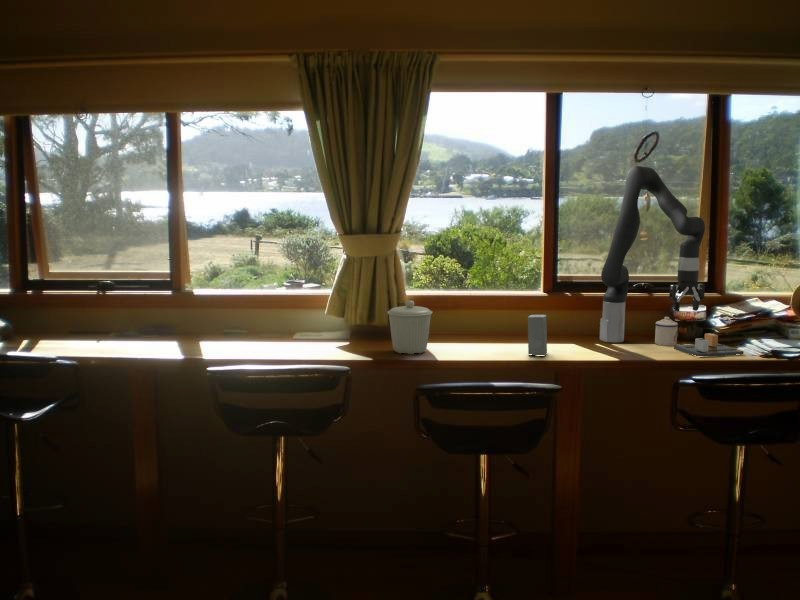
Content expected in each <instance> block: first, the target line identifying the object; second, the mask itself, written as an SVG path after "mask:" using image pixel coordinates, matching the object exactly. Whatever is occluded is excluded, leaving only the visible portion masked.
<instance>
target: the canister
mask: <svg viewBox="0 0 800 600" xmlns="http://www.w3.org/2000/svg"><path fill="white" fill-rule="evenodd" d="M386 313H387V315H388V316H389V318H388V319H389V325H390V334H391V335H390V336H391V344H392V348H393V350H394V352H396V353H397V354H401V353H408V354H407V355H415V354H414V353H419V354H422V353H424V352H426V350H427V348H428V347H427V346H428V342H429V335H430V334H429V333H430V326H431V317H432V314H433V310H431V309H429V308H428V307H424V306H419V305H418V306H417V305H415V302H414V300H407V301H405V305H403V306H395V307H392V308H390V309H389V310H387V311H386Z"/></svg>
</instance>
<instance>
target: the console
mask: <svg viewBox="0 0 800 600" xmlns="http://www.w3.org/2000/svg"><path fill="white" fill-rule="evenodd" d="M673 347H674V348H673V349H674V350H675V349H676V350H675V351H678V350H679V351H678V352H681V351H682V353H684V352H686V353H685V354H687V353H689V354H688V355H690V354H693V355H696V356H718V357H726V356H725V355H736V354H745V353H744V350H741V349H737V348H734V347H731V346H727V345H725V344H721V343H718V344H717V346H709V348H708V352H701V351H698V350H695V343H694V344H678V345H677V344H676V345H674V346H673ZM693 355H692V356H693ZM736 356H737V355H736Z"/></svg>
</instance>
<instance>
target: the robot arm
mask: <svg viewBox="0 0 800 600" xmlns="http://www.w3.org/2000/svg"><path fill="white" fill-rule="evenodd" d="M641 190H642V191H643V190H644V191H648V192H649V193H650V194H652V195H653V197H655V199H656V200H657V204H658V206H659V208H660V210H661V211H662V212H663V213H664V214H665V216H667V217H668V218H669V219H670V221H671V223H672V224H673V227H674V228H675V229H674V230H676V231H677V232H678V234H680V235H682V236H687V238H686V240H685V241H682V242H681V243H680V246H679V255H678V257H679V258H678V264H677V283H676V284H670V285H669V291H668V293H669V295H668V297H669V298H668V299H669V300H670V301H673V310H674V312H676V313H677V312H680V306H681V302H680V300H681V299H682V298H684V297H685V296H690V297H691V298H692V300H693V301H692V311H693V312H694V311H695V312H697V311H698V310H699V308H700V307H699V306H700V301H701V300H705V291H706V290H705V289H706V284H704V283H698V281H699V277H700V276H699V273H700V246H701V244H702V241H703V238H704V234H705V230H706V223H705V221H704V219H703V218H702V217H699V216H688V209H687V207H686V206H685V205H684V204H683V203H682V202H681V201H680V200H679V199H678V198H677V197H676V196H674V194H673V193H672V192H671V190H670V189H669V188H668V186H667V185H666V184H665V183H664V180H662V178H661V177H660V176H659V174H658V173H657V171H656V170H655V169H653V168H652V167H649V166H642V165H641V166H640V165H634V166H632V167H631V168H630V169H629V171H628V173H627V175H626V179H625V185H624V190H623V195H622V196H623V197H622V201H621V206H620V210H619V213H618V214H619V215H618V216H617V217H618V218H617V220H616V224H615V227H614V232H613V236H612V239H611V244H610V247H609V250H608V254H607V256H606V259H605V262H604V265H603V267H602V270H601V274H600V278H601V279H600V280H601V282H602V283H603V284H604V285H605V286H606V287H607V290H606V292H605V293H604V294H603V297H602V317H600V319H599V320H600V322H599V325H600V326H599V340H600V341H602V342H605V343H623V342H624V341H625V339H624V338H625V319H626V317H625V316H626V315H625V314H626V299H627V297H628V293H629V283H630V282H629V281H630V273H629V270H628V268H627V267H626V265H624V261H625V260H626V259H625V258H626V256H627V254H628V252H629V251H630V249H631V247H632V246H633V244H634V243H635V242H636V241H635V240H636V238H637V236H638V233H639V229H640V225H641V214H640V212H639V211H640V210H639V197H640V194H641V193H640V192H641Z"/></svg>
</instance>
